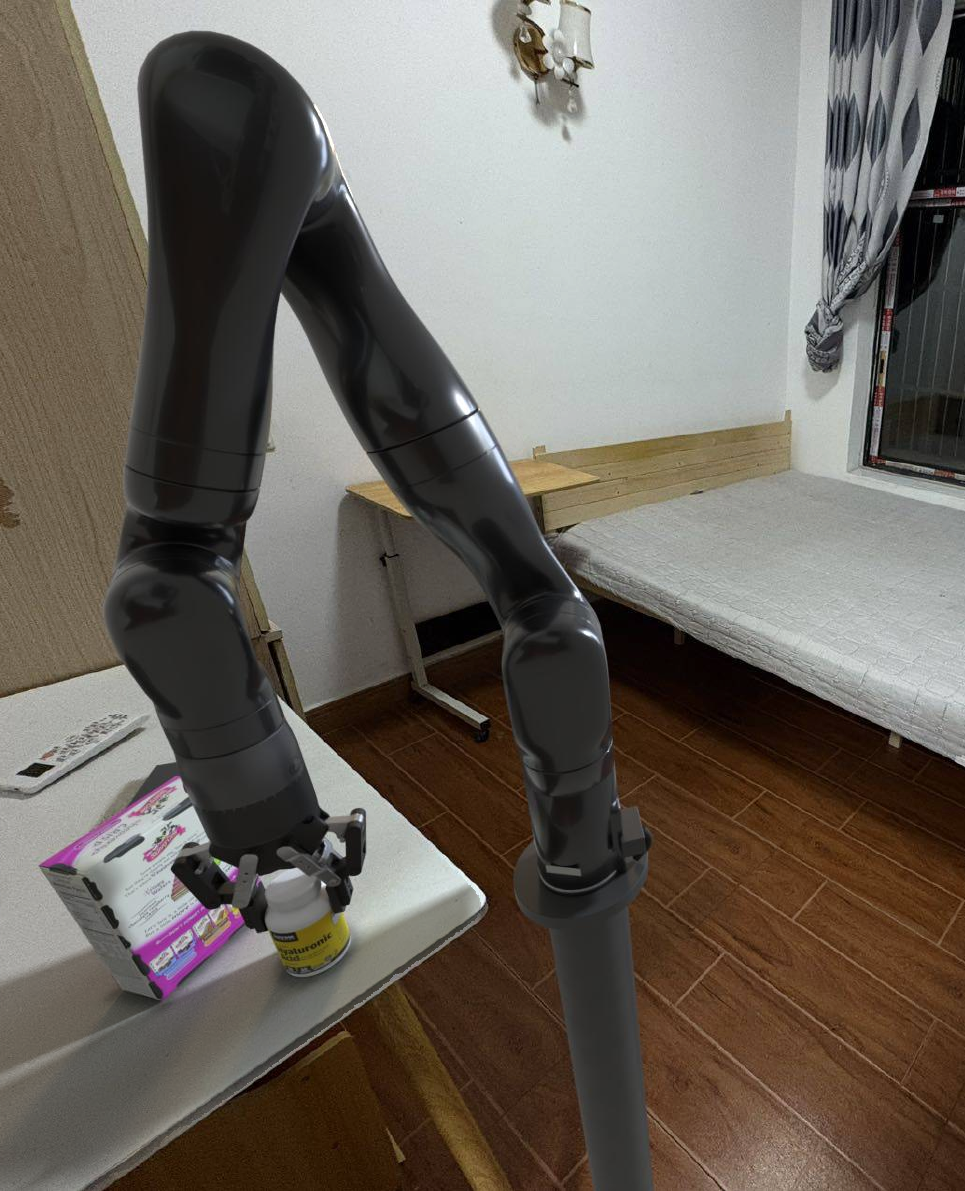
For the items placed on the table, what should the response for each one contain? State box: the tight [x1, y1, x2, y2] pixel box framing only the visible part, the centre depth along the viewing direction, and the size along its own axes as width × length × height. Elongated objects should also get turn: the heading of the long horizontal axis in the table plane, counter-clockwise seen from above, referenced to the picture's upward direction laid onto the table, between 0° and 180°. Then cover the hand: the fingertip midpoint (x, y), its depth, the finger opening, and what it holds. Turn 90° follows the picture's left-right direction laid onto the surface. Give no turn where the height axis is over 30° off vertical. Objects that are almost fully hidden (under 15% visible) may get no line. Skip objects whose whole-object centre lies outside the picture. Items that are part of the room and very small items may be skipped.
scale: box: [124, 761, 180, 809], centre depth 81 cm, size 13×11×3 cm
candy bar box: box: [38, 776, 266, 1001], centre depth 60 cm, size 11×5×16 cm, turn 170°
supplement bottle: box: [265, 868, 352, 978], centre depth 61 cm, size 5×5×10 cm
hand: (304, 914), depth 61 cm, fingers closed on supplement bottle, 5 cm apart
